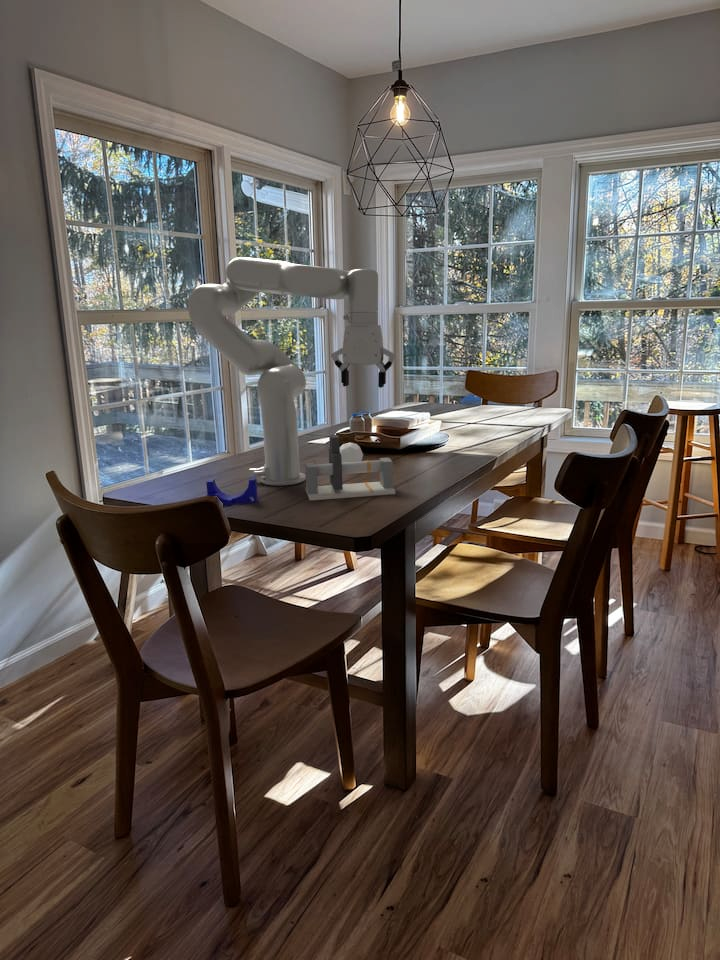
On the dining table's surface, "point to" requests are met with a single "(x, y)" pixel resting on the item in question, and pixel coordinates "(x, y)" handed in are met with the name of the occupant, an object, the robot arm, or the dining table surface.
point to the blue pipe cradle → (229, 499)
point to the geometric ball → (351, 453)
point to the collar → (335, 462)
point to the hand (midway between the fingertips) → (363, 386)
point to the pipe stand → (350, 489)
